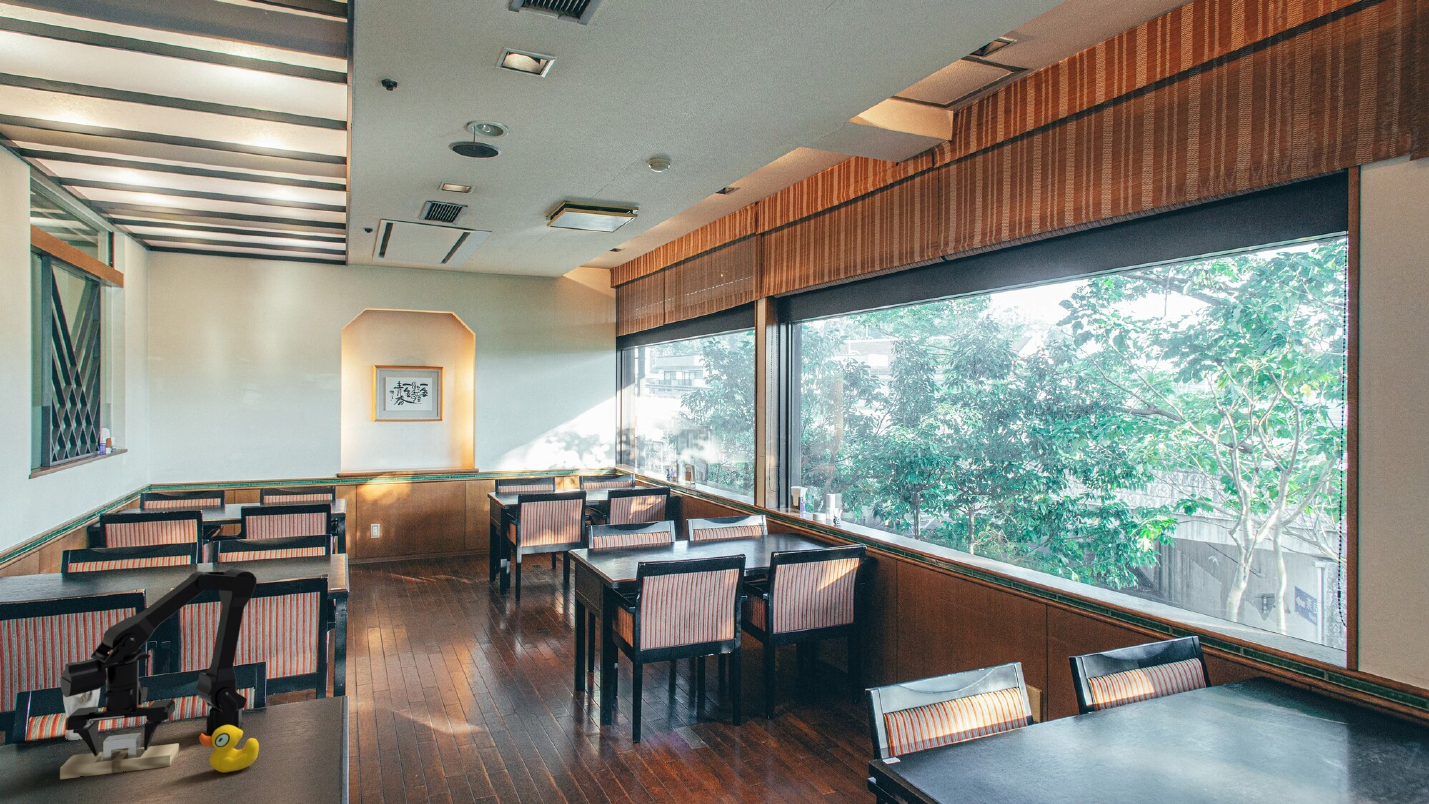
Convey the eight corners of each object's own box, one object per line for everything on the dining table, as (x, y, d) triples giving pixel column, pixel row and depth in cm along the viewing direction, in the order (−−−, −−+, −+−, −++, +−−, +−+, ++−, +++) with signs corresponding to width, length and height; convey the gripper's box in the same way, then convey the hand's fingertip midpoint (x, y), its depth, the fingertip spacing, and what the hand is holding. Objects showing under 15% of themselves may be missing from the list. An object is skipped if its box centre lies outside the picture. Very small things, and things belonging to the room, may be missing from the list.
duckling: (195, 780, 166) (196, 734, 166) (202, 769, 171) (202, 724, 171) (256, 772, 170) (256, 727, 170) (260, 761, 175) (261, 717, 175)
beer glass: (107, 729, 189) (108, 668, 189) (81, 742, 183) (82, 679, 182) (81, 727, 190) (82, 667, 190) (54, 740, 183) (55, 677, 183)
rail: (178, 754, 178) (178, 743, 178) (170, 766, 172) (170, 755, 172) (72, 766, 171) (72, 755, 171) (60, 779, 165) (60, 767, 165)
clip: (140, 761, 174) (140, 732, 174) (135, 767, 171) (136, 738, 171) (108, 765, 172) (108, 736, 172) (103, 771, 169) (103, 741, 169)
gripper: (183, 666, 182) (182, 732, 182) (87, 674, 176) (86, 742, 176) (167, 683, 171) (166, 753, 172) (64, 692, 165) (63, 764, 165)
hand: (121, 752), depth 171 cm, fingers open, 9 cm apart
